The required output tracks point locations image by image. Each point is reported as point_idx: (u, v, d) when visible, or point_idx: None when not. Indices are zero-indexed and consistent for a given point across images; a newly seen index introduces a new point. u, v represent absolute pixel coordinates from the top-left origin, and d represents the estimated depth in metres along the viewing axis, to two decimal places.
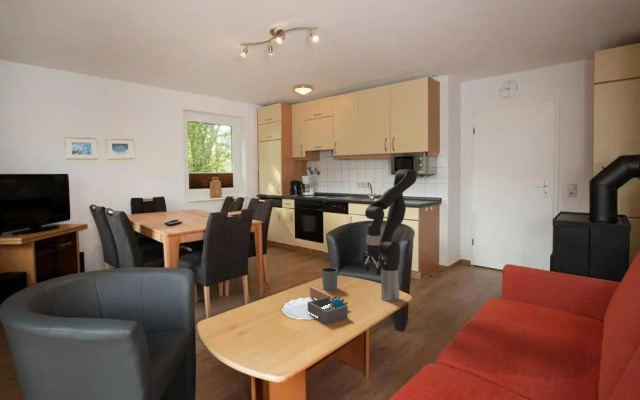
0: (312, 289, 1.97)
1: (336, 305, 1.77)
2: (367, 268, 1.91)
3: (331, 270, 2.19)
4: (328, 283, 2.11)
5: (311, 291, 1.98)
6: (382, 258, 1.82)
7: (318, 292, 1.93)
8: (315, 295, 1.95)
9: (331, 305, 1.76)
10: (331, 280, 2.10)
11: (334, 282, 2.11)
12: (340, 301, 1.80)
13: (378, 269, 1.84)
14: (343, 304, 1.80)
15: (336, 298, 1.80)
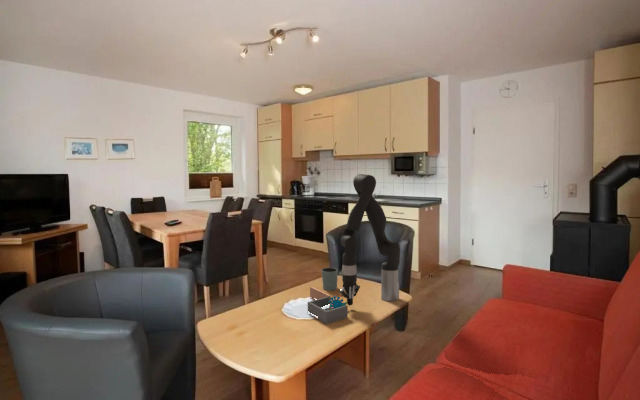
0: (312, 289, 1.97)
1: (335, 305, 1.77)
2: None
3: (331, 270, 2.19)
4: (328, 283, 2.11)
5: (311, 291, 1.98)
6: None
7: (318, 292, 1.93)
8: (315, 295, 1.95)
9: (330, 305, 1.76)
10: (331, 280, 2.10)
11: (334, 282, 2.11)
12: (339, 301, 1.80)
13: (352, 299, 1.83)
14: (342, 304, 1.80)
15: (335, 298, 1.80)
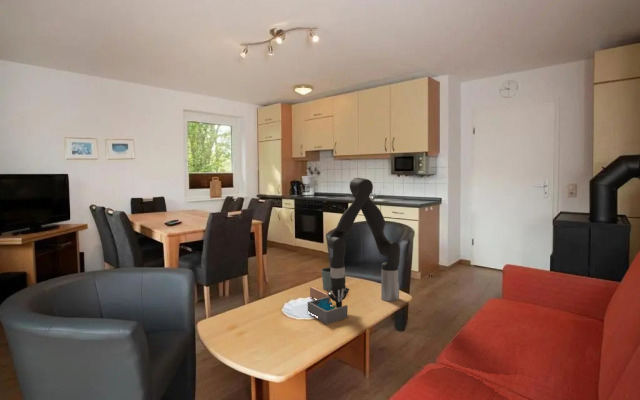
0: (312, 289, 1.97)
1: (324, 309, 1.72)
2: None
3: None
4: (328, 283, 2.11)
5: (311, 291, 1.98)
6: None
7: (318, 292, 1.93)
8: (315, 295, 1.95)
9: None
10: None
11: None
12: (328, 304, 1.76)
13: (341, 302, 1.78)
14: (331, 307, 1.75)
15: None
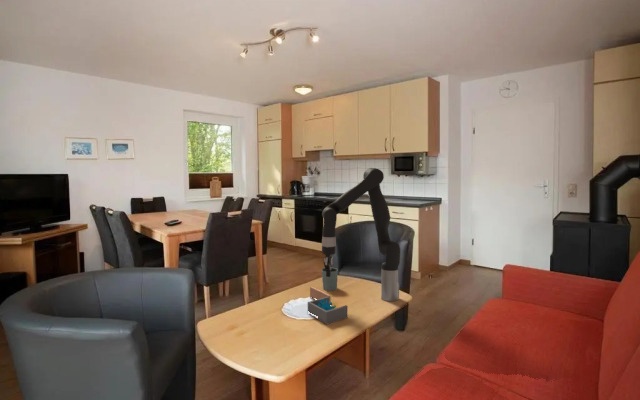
0: (312, 289, 1.97)
1: None
2: None
3: (331, 270, 2.19)
4: (328, 283, 2.11)
5: (311, 291, 1.98)
6: None
7: (318, 292, 1.93)
8: (315, 295, 1.95)
9: None
10: (331, 280, 2.10)
11: (334, 282, 2.11)
12: (328, 304, 1.76)
13: None
14: (331, 307, 1.75)
15: None
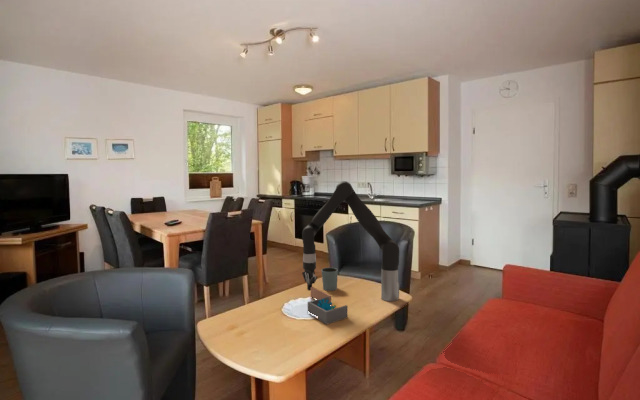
0: (313, 289, 1.97)
1: (323, 308, 1.73)
2: None
3: (331, 270, 2.19)
4: (328, 283, 2.11)
5: (312, 291, 1.98)
6: None
7: (319, 292, 1.92)
8: (316, 295, 1.95)
9: None
10: (331, 280, 2.10)
11: (334, 282, 2.11)
12: (328, 304, 1.76)
13: None
14: (331, 307, 1.76)
15: (323, 301, 1.76)
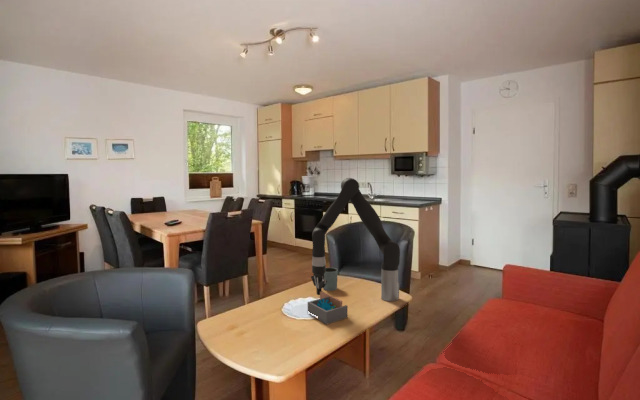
0: (322, 294, 1.89)
1: (323, 308, 1.73)
2: None
3: (331, 270, 2.19)
4: (328, 283, 2.11)
5: (321, 296, 1.90)
6: None
7: (329, 297, 1.84)
8: None
9: None
10: (331, 280, 2.10)
11: (334, 282, 2.11)
12: (327, 304, 1.76)
13: None
14: (330, 307, 1.76)
15: (323, 301, 1.76)
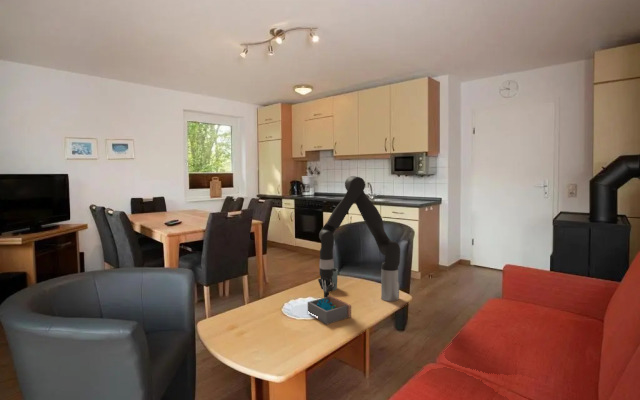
0: (330, 298, 1.83)
1: (322, 308, 1.73)
2: None
3: None
4: None
5: (329, 300, 1.84)
6: None
7: (337, 301, 1.79)
8: (334, 304, 1.81)
9: None
10: None
11: (334, 282, 2.11)
12: (327, 304, 1.76)
13: None
14: (330, 307, 1.76)
15: (323, 301, 1.77)
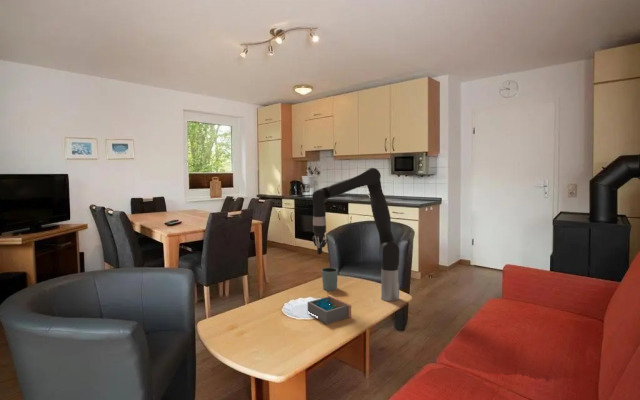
0: (330, 298, 1.83)
1: (322, 308, 1.74)
2: None
3: (331, 270, 2.19)
4: (328, 283, 2.11)
5: (329, 300, 1.84)
6: None
7: (337, 301, 1.79)
8: (334, 304, 1.81)
9: None
10: (331, 280, 2.10)
11: (334, 282, 2.11)
12: (327, 304, 1.77)
13: None
14: (330, 307, 1.76)
15: (323, 300, 1.77)
